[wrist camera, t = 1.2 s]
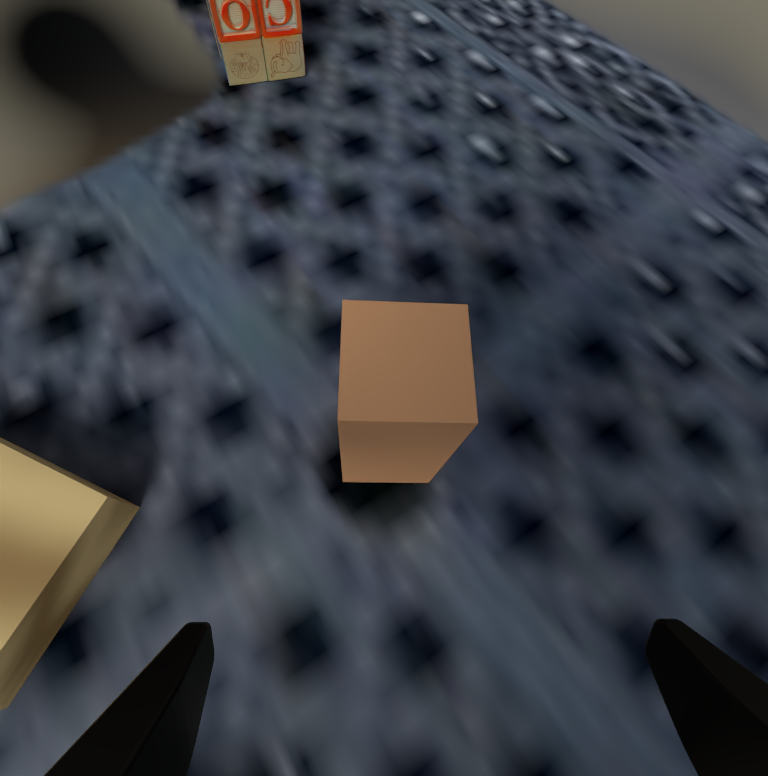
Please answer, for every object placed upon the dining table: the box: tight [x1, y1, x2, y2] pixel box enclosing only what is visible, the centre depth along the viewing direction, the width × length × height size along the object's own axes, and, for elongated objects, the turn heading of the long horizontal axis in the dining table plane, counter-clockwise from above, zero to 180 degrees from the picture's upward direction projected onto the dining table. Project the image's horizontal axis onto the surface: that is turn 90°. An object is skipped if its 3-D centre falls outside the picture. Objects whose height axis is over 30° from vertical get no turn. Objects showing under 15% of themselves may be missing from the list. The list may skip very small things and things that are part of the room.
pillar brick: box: [338, 300, 478, 483], centre depth 20 cm, size 4×4×10 cm
